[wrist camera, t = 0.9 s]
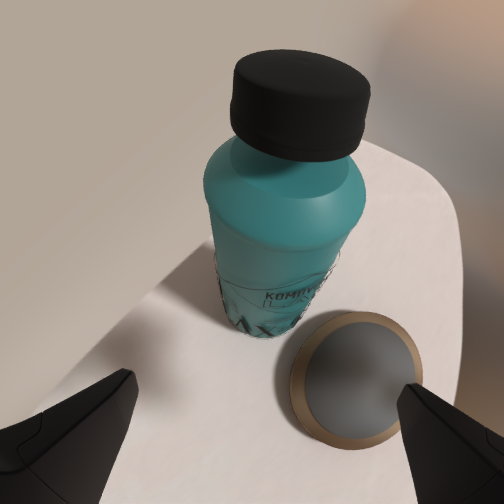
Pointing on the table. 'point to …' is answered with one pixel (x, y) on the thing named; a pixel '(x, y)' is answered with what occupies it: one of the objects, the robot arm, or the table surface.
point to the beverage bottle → (285, 184)
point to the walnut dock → (353, 379)
